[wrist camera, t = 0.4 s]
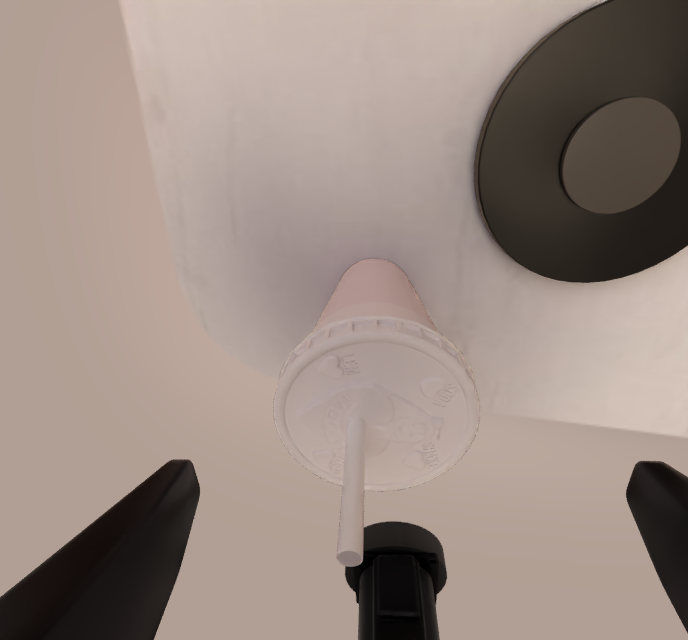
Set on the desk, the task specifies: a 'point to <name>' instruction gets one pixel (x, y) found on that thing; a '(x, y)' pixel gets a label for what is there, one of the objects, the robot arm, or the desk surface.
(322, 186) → the desk surface
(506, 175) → the black coaster
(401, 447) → the smoothie
